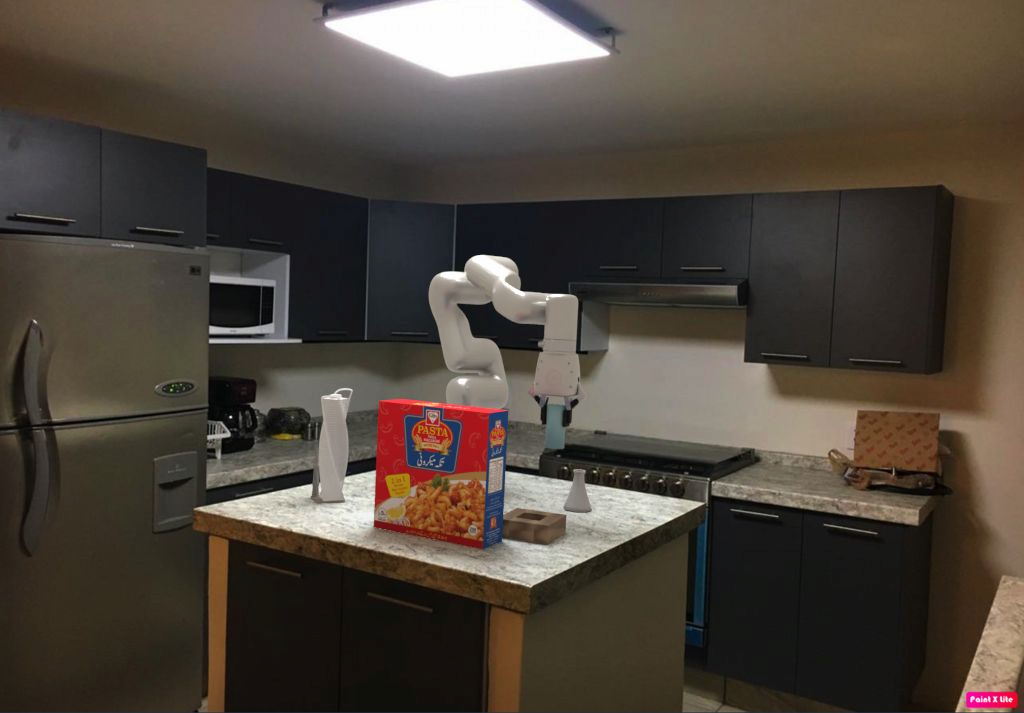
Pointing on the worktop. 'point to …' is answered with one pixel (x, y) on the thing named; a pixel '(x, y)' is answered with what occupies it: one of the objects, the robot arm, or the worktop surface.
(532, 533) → the walnut pocket block
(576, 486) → the flask
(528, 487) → the worktop surface
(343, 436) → the skyscraper
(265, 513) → the worktop surface
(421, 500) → the pasta box
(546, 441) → the teal peg
